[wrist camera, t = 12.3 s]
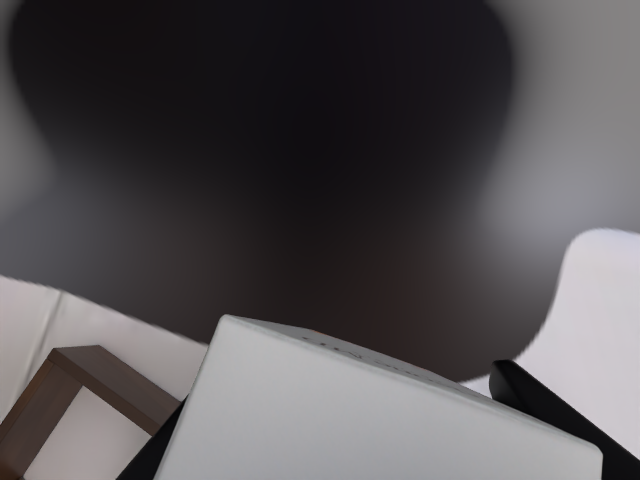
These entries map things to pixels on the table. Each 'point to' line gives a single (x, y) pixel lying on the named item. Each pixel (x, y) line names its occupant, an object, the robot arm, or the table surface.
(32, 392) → the square wooden tray
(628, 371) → the table surface
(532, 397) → the robot arm
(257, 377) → the cosmetic box
